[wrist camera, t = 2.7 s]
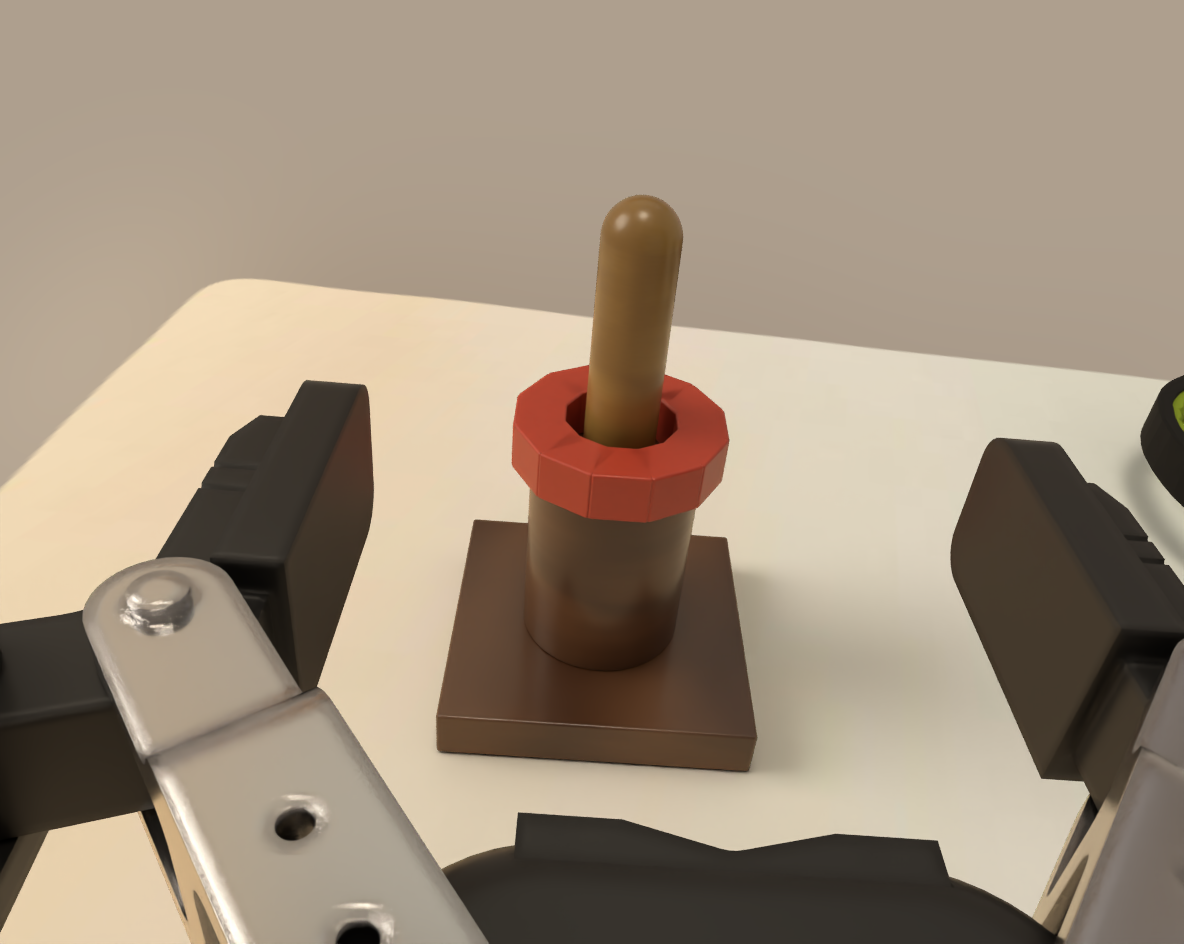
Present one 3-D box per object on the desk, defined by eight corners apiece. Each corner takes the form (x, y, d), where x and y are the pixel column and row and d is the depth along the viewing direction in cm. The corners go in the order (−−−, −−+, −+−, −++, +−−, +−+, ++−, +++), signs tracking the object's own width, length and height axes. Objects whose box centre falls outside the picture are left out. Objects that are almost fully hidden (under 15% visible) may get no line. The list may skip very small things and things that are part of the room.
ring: (710, 412, 30) (717, 372, 29) (729, 530, 25) (738, 486, 24) (521, 398, 30) (523, 357, 29) (504, 513, 25) (505, 468, 24)
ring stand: (720, 568, 35) (803, 155, 27) (749, 772, 28) (875, 291, 20) (473, 551, 35) (477, 128, 27) (436, 752, 28) (425, 255, 19)
